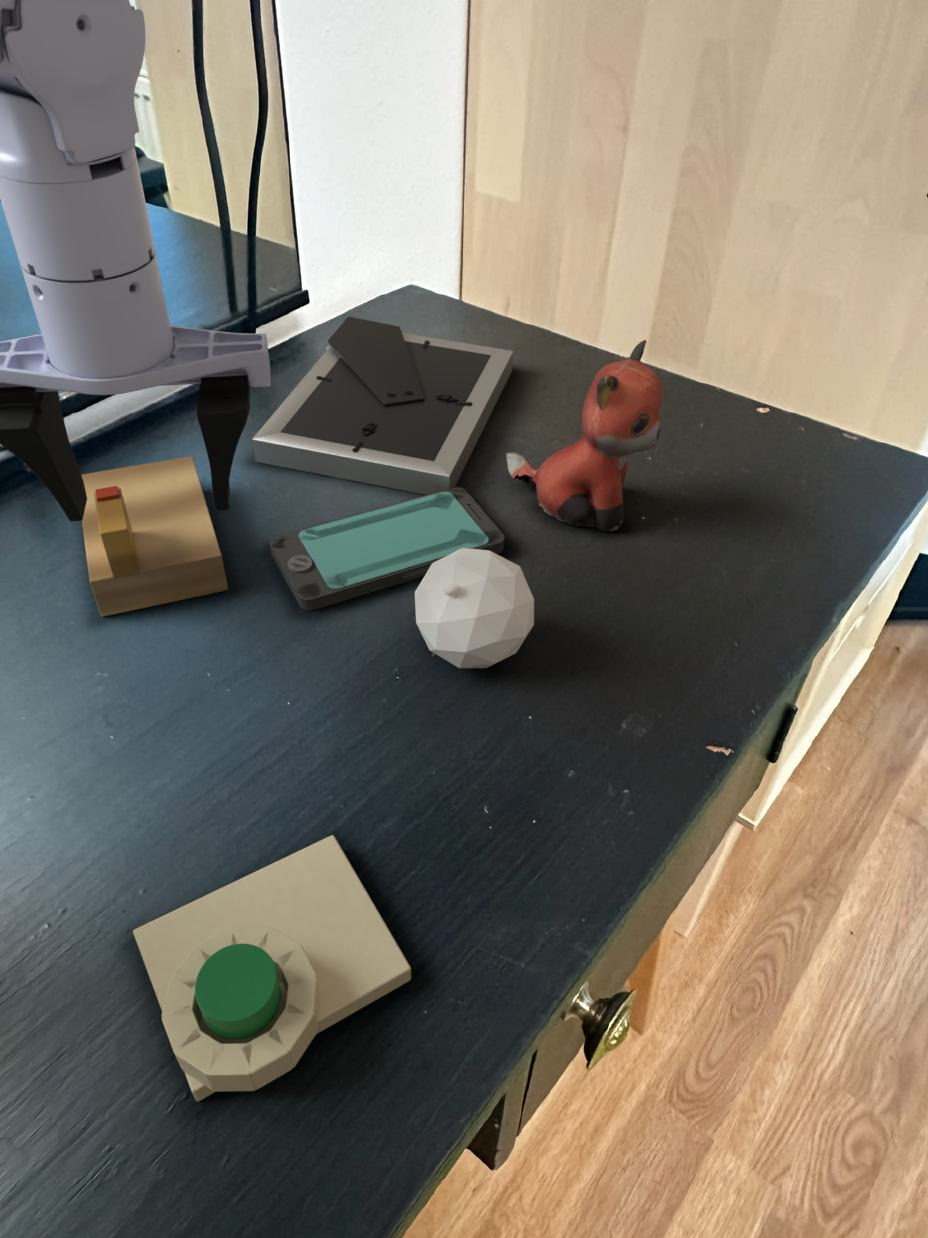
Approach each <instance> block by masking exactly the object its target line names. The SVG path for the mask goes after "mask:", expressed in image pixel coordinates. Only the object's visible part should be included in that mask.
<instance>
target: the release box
mask: <svg viewBox="0 0 928 1238" xmlns="http://www.w3.org/2000/svg"><path fill="white" fill-rule="evenodd" d="M132 933H133V936H134V939H135V942H136V944H137V948H138V950H139V953H140V955H141V958H142V960H143V961H142V962H143V963H144V967H145V969H146V971H147V974H148V977H149V980H150V983H151V985H152V988H153V991H154V994H155V996H156V998H157V999H156V1000H157V1002H158V1004H159V1008H160V1009H161V1012H162V1013H161V1021H162V1024H163V1027H164V1030H165V1032H166V1035H167V1038H168V1041H169V1043H170V1047H171V1049H172V1052H173V1054H174V1056H175V1059H176V1060H177V1062H178V1065H179V1066H180V1069H181V1070H182V1071H183V1072H184V1075H185V1077H186V1080H187V1083H188V1085H189V1088H190V1092H191V1094H192V1096H193V1097H194V1100H195V1101H196V1102H200V1101H202V1100H204V1099H205V1098H207V1097H209V1096H211V1095H212V1094H214V1093H215V1092H255V1091H256V1090H259V1089H261V1088H262V1087H264V1086H267V1084H269V1083H271V1082H273V1081H275V1080H276V1079H277V1078H280V1077H281V1076H283V1075H285V1074H287V1073H288V1072H290V1071H292V1070H293V1068H295V1067H296V1065H298V1063H299V1061H300V1060H301V1058H302V1057H303V1055H304V1053H305V1052H306V1051H307V1049H308V1047H309V1046H310V1045H311V1043H312V1042H313V1040H314V1038H315V1036H316V1035H318V1034H319V1033H321V1032H322V1031H325V1030H326V1029H328V1028H330V1027H331V1026H333V1025H335V1024H337V1023H338V1022H340V1021H342V1020H343V1019H345V1018H348V1017H349V1016H351V1015H352V1014H354V1013H356V1012H357V1011H359V1010H361V1009H363V1008H364V1007H366V1006H368V1005H370V1004H371V1003H374V1002H375V1001H377V1000H379V999H381V998H382V997H384V996H385V995H387V994H389V993H391V992H392V991H394V990H396V989H398V988H400V987H401V986H403V985H405V984H407V983H409V982H410V981H411V980H412V967H411V966H410V964H409V961H408V960H407V958H406V957H405V955H404V953H403V951H402V950H401V948H400V947H399V945H398V943H397V941H396V940H395V938H394V936H393V934H392V932H391V931H390V929H389V927H388V926H387V924H386V921H384V919H383V917H382V916H381V914H380V912H379V910H378V909H377V908H376V905H375V904H374V902H373V900H372V898H371V897H370V895H369V893H368V891H367V890H366V888H365V886H364V884H363V883H362V881H361V879H360V878H359V876H358V874H357V873H356V871H355V869H354V868H353V866H352V864H351V862H350V861H349V859H348V857H347V855H346V854H345V852H344V850H343V849H342V846H341V845H340V843H339V842H338V840H337V838H336V836H335V835H333V834H331V835H329V836H327V837H324V838H323V839H321V840H318V841H316V842H315V843H312V844H310V845H308V846H306V847H304V848H302V849H300V850H298V851H296V852H294V853H291V854H289V855H287V856H286V857H283V858H281V859H279V860H277V861H274V862H273V863H271V864H269V865H265V866H264V867H262V868H260V869H258V870H256V871H253V872H251V873H249V874H248V875H245V876H244V877H241V878H239V879H237V880H235V881H233V882H230V883H229V884H227V885H225V886H223V887H220V888H218V889H216V890H213V891H212V892H209V893H208V894H206V895H204V896H201V897H199V898H197V899H195V900H193V901H191V902H189V903H187V904H184V905H182V906H181V907H179V908H176V909H175V910H173V911H171V912H168V913H166V914H164V915H162V916H160V917H157V918H156V919H154V920H151V921H149V922H147V923H145V924H143V925H141V926H139V927H137V928H134V929H133V931H132ZM234 944H251V945H254V946H257V947H259V948H261V949H263V950H264V951H266V952H267V953H268V954H269V956H270V957H271V958H272V960H273V962H274V964H275V967H276V971H277V975H278V979H279V983H280V988H281V1001H280V1006H279V1009H278V1011H277V1013H276V1015H275V1017H274V1018H273V1020H272V1021H271V1022H270V1023H269V1024H268V1026H267V1027H265V1028H264V1029H263V1030H262V1031H260V1032H259V1033H257V1034H255V1035H253V1036H251V1037H248V1038H244V1039H237V1040H234V1039H226V1038H223V1037H220V1036H218V1035H217V1034H215V1033H214V1032H213V1031H212V1030H211V1029H210V1028H209V1027H208V1026H207V1024H206V1022H205V1020H204V1018H203V1015H202V1013H201V1010H200V1008H199V1005H198V1003H197V1000H196V995H195V983H196V979H197V976H198V973H199V971H200V969H201V967H202V966H203V964H204V963H205V962H206V961H207V960H208V958H209V957H211V956H212V955H213V954H214V953H216V952H217V951H219V950H220V949H222V948H224V947H227V946H230V945H234Z"/></svg>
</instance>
